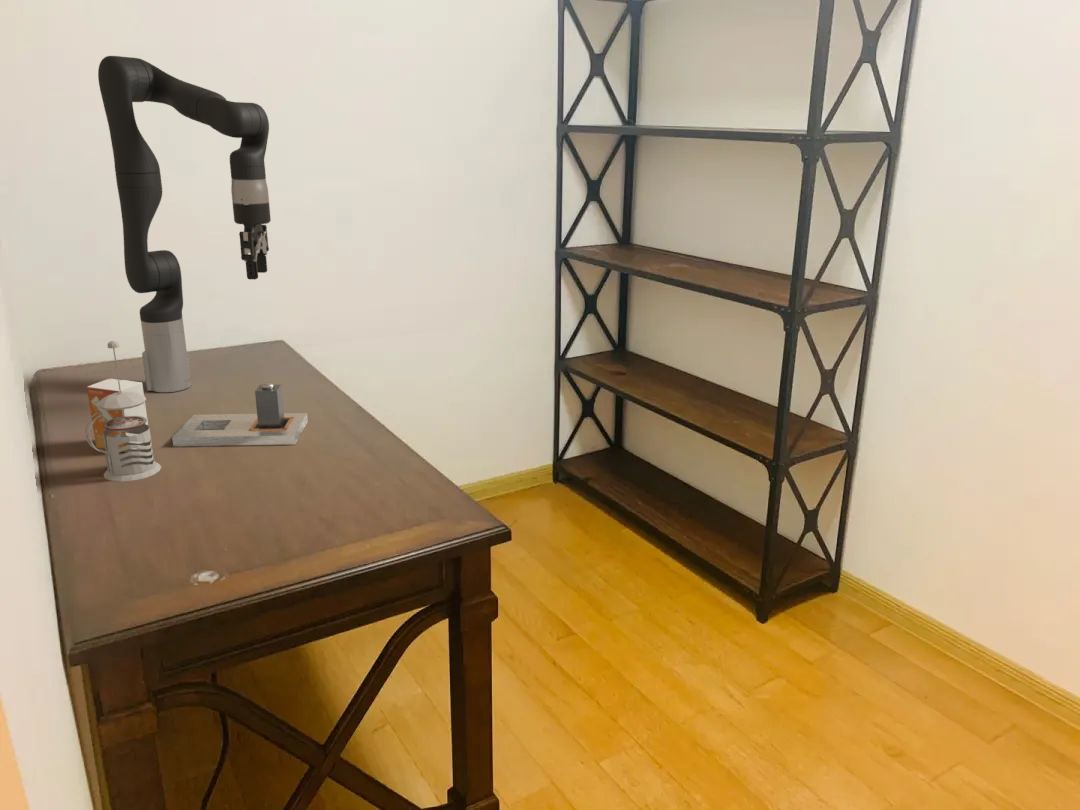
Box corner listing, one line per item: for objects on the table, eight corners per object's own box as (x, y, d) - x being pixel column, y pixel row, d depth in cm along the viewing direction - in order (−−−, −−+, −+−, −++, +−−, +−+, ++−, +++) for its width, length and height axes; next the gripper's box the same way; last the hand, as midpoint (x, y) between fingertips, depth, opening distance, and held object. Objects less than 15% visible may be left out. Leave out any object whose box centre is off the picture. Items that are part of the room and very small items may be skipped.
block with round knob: (259, 437, 174) (254, 387, 170) (264, 429, 178) (259, 381, 175) (281, 436, 174) (276, 387, 171) (285, 429, 178) (280, 380, 175)
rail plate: (173, 446, 168) (172, 436, 167) (195, 423, 181) (193, 413, 181) (295, 444, 170) (294, 434, 169) (307, 421, 183) (306, 412, 182)
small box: (95, 448, 166) (85, 386, 162) (119, 438, 172) (110, 377, 168) (128, 453, 164) (119, 390, 160) (152, 442, 170) (143, 381, 166)
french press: (170, 470, 156) (152, 340, 148) (105, 489, 148) (82, 352, 140) (148, 457, 163) (129, 331, 155) (84, 473, 155) (61, 342, 147)
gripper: (241, 197, 186) (248, 270, 192) (223, 203, 173) (231, 281, 178) (275, 198, 187) (281, 270, 192) (260, 203, 173) (267, 281, 179)
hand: (257, 275), depth 185 cm, fingers open, 8 cm apart
